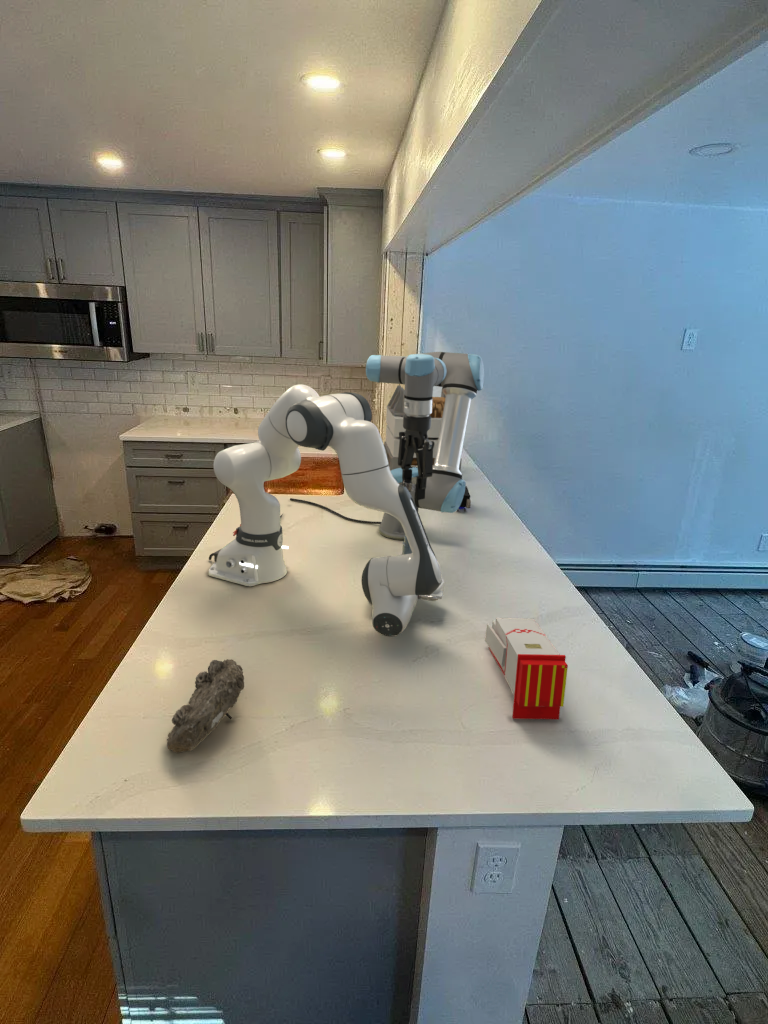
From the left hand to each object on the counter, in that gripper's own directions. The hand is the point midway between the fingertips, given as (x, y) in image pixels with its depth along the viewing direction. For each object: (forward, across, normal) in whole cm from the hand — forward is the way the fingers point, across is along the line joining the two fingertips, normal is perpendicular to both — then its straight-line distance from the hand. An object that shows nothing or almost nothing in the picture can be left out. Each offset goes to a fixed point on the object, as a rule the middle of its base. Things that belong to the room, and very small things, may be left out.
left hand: (410, 571), depth 157 cm
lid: (+10, +2, -23) cm, 25 cm away
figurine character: (+78, -6, +7) cm, 78 cm away
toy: (-32, -30, +7) cm, 44 cm away
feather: (+44, +56, +7) cm, 71 cm away
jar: (-1, 0, +7) cm, 7 cm away
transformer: (+122, +18, +7) cm, 124 cm away
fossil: (-61, +27, +7) cm, 67 cm away
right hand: (+11, +2, -19) cm, 22 cm away
